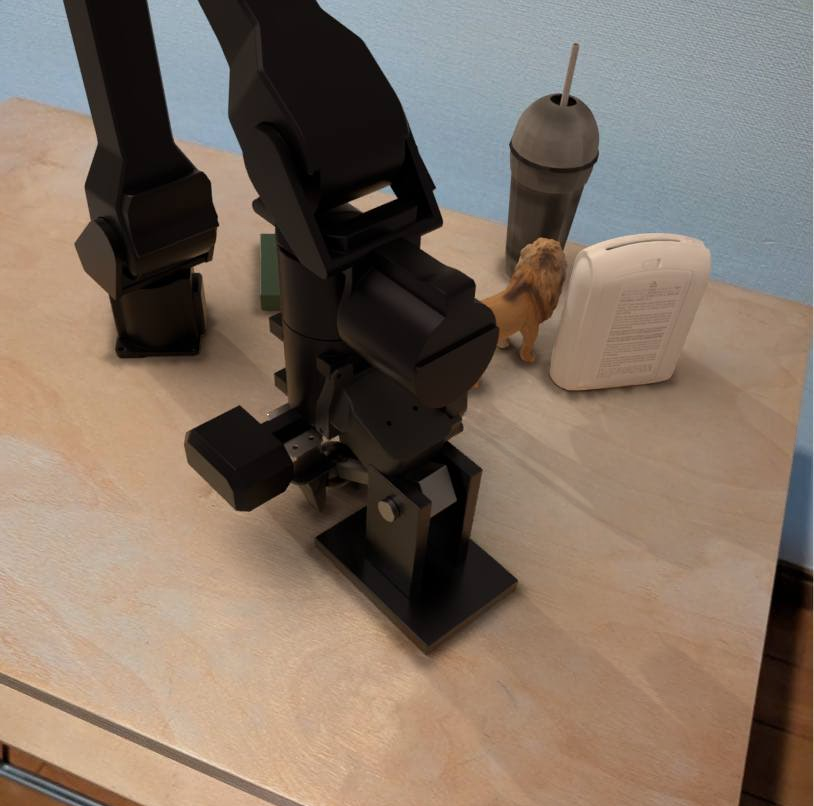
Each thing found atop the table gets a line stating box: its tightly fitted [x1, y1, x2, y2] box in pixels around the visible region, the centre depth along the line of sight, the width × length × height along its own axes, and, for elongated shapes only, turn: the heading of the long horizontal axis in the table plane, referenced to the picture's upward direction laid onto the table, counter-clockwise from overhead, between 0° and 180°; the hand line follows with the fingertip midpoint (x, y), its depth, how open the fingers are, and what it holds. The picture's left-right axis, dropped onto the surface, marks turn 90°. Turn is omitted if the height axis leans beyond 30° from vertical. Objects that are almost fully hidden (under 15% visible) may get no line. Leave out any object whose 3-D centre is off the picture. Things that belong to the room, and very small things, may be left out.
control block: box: [259, 233, 281, 311], centre depth 78 cm, size 12×9×4 cm
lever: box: [322, 440, 457, 518], centre depth 58 cm, size 13×3×3 cm, turn 42°
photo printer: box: [549, 232, 712, 391], centre depth 69 cm, size 10×4×12 cm, turn 103°
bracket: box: [314, 440, 519, 656], centre depth 56 cm, size 11×8×10 cm
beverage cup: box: [504, 42, 600, 279], centre depth 74 cm, size 7×7×20 cm
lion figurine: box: [470, 238, 569, 390], centre depth 70 cm, size 15×5×9 cm, turn 134°
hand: (336, 497), depth 64 cm, fingers open, 3 cm apart
